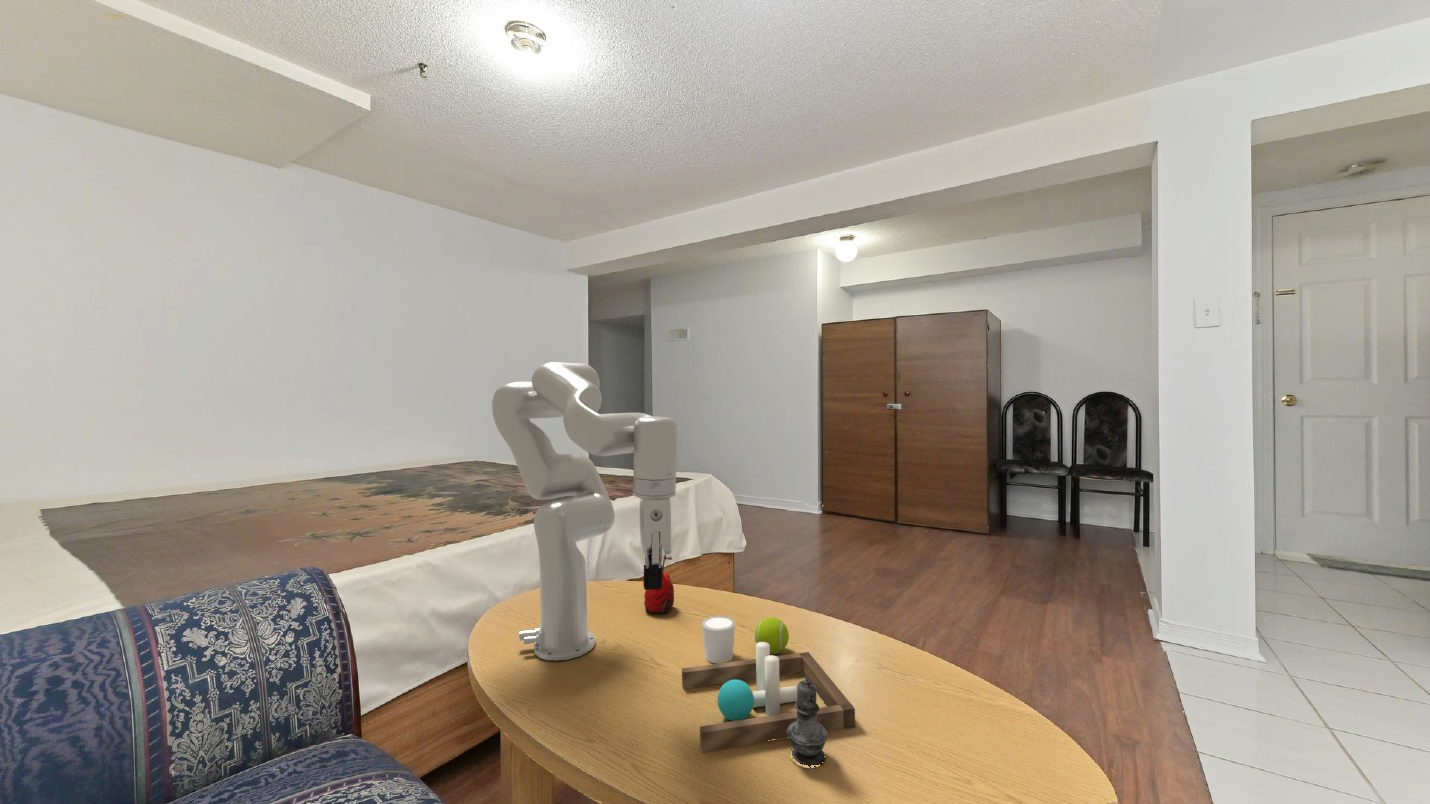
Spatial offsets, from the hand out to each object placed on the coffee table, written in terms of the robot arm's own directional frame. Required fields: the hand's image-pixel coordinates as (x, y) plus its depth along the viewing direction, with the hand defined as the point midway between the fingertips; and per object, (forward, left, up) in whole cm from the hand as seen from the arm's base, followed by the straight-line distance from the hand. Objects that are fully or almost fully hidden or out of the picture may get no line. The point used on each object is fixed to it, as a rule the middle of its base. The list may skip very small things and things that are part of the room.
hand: (652, 587), depth 95 cm
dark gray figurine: (+20, -22, -19) cm, 36 cm away
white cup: (+14, +10, -19) cm, 26 cm away
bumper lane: (+18, -8, -19) cm, 27 cm away
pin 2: (+19, -10, -19) cm, 29 cm away
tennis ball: (+25, +9, -19) cm, 33 cm away
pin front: (+16, -8, -18) cm, 25 cm away
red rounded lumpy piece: (+5, +36, -19) cm, 41 cm away
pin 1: (+19, -5, -19) cm, 27 cm away
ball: (+12, -11, -16) cm, 23 cm away
